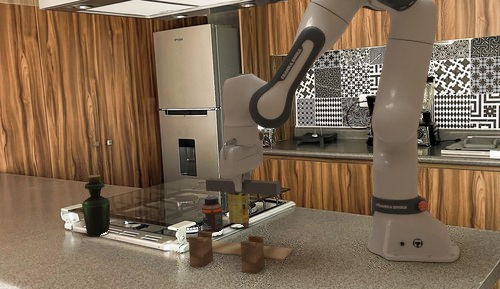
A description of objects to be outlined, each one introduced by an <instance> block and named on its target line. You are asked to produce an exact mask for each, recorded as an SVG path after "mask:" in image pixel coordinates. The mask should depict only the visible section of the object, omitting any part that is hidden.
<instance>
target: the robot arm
mask: <svg viewBox="0 0 500 289" xmlns="http://www.w3.org/2000/svg"><path fill="white" fill-rule="evenodd" d="M360 9H366V10H370V11H372V12H385V11H386V12H387V14H388V17H389V27H390V28H389V32H388V35H387V40H386V44H385V50H384V55H383V62H382V66H381V73H380V76H379V81H378V87H377V90H376V96H375V101H374V105H373V111H372V116H371V128H372V132H373V146H372V148H373V151H372V153H373V154H372V175H373V176H372V195H371V198H370V199H371V200H370V207H371V208H370V210H371V211H370V212H371V216H372V221H371V230H370V236H369V239H368V243H367V246H366V247H367V249H368V251H369V252H371V253H373V254H374V255H375V254H376V255H378V256H381V257H383V258H384V259H385V260H387V261H398V262H399V261H400V262H403V261H404V262H422V263H423V262H425V263H426V262H429V263H453V262H455V261H457V260H458V259H459V258H460V255H461V254H460V253H461V252H460V247H459V245H458V244H456V243H455V242H453V241H451V237H450V233H449V229H448V228H447V226H446V225H445V223H443V222H442V221H440V220H439V218H436V217H435V216H434V215H433V214H431V213H430V212H429V211H428V210H427V208H428V202H427V199H426V196H424V197H423V196H421V195H419V159H418V158H419V157H418V155H419V154H418V153H419V152H418V129H419V126H420V120H421V114H422V109H423V104H424V99H425V92H426V86H427V81H428V75H429V70H430V65H431V60H432V55H433V51H434V45H435V40H436V33H437V26H438V23H437V22H438V8H437V5H436V3H435V2H434V1H433V0H310V2H309V3H308V5H307V6H306V9H305V11H304V12H303V15H302V17H301V20H300V22H299V25H298V26H297V30H296V34H295V37H294V40H293V43H292V45H291V47H290V49H289V50H288V52H287V54H286V56H284V58H283V61H282V62H281V64H280V65H279V67H278V68H277V70H276V72H275V74H274V75H273V77H272V78H271V79H270V80H269V81H265V80H264V79H262V78H259V77H258V76H257V75H255V74H253V73H252V72H244V73H239V74H234V75H232V76H229V77H228V78H226V80H224V83H223V87H222V111H223V114H224V122H223V143H224V144H223V145H222V148H221V149H220V151H219V167H218V171H219V172H218V174H219V176H220V178H223V179H233V182H234V184H235V191H236V192H241V191H243V189H244V188H243V184H242V181H241V178H242V174H243V175H244V176H243V180H252V175H253V170H255V169H257V168H260V167H262V164H263V161H264V158H263V157H264V145H263V143H264V142H263V141H264V140H265V134H264V131H261V130H260V129H259V127H261V128H263V129H265V130H266V129H267V130H274V129H278V128H280V127H282V126H283V125H285V124H286V123H287V122H288V121H289V119H290V117H291V114H292V112H293V109H294V97H295V94H296V92H297V90H298V89H299V87H300V85H301V84H302V82H303V81H304V79H305V77H306V76H307V74H308V72H309V70H311V69H312V68H311V67H312V66H313V65H314V64H315V62H316V61H317V60H318V59H319V58H320V57H321V56H322V55H324V53H326V52H328V51H329V50H331V49H332V48H333V46H334V45H335V44H336V43H337V42H338V41H339V39H340V38H342V36H343V35H344V33H345V32H346V30H347V29H348V27H349V26H350V24H351V22H352V20H353V19H354V17H355V16H356V14H357V13H358V12H359V11H360Z"/></svg>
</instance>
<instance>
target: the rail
mask: <svg viewBox="0 0 500 289" xmlns="http://www.w3.org/2000/svg"><path fill="white" fill-rule="evenodd" d="M241 181H242V184H243V188H244V189H243V191H241V192H236V191H235V184H234V182H233V179H227V178H221V177H220V178H219V177H218V178H217V177H209V178H207V179H205V191H206V192H216V193H228V192H230V193H246V194H248V195H265V196H278V195H280V194H281V191H282V190H281V181H280V180H279V181H277V180H257V179H251V180H243V179H241Z"/></svg>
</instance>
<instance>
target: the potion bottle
mask: <svg viewBox="0 0 500 289" xmlns="http://www.w3.org/2000/svg"><path fill="white" fill-rule="evenodd" d="M87 181H88V182H87V183H85V185H84V189H86V190H88V193H89V197H88V198H86V199H85V200H84V201H83V202H82V205H81V207H82V213H83V218H84V224H85V230H86V234H87V236H89V237H91V238H93V237H94V238H96V237H101V236H100V235H101V234H103V233H105V232H107V231H108V230H109V231H110V220H111V219H110V214H111V213H110V212H111V211H110V208H111V207H110V206H111V203H110V202H111V201H110V200H109V199H108V198H106V197H105V196H102V195H101V192H102V189H103V188H105V187H106V186H105V183H104V182H103V181H101V175H100V174H91V175H87Z"/></svg>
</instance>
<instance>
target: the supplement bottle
mask: <svg viewBox="0 0 500 289" xmlns="http://www.w3.org/2000/svg"><path fill="white" fill-rule="evenodd" d="M222 206H223V205H222V204H221V203H219V197H218V196H217V195H210V196H206V197H204V204H202V206H201V218H202V219H203V220H204V225H203V224H202V231H203V230H204V231H205V232H219V231H221V230H222V229H223V230H224V221H223V219H224V218H223V207H222ZM203 220H202V221H203Z"/></svg>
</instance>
